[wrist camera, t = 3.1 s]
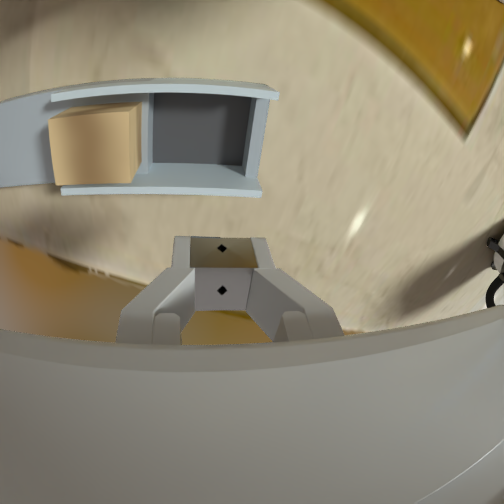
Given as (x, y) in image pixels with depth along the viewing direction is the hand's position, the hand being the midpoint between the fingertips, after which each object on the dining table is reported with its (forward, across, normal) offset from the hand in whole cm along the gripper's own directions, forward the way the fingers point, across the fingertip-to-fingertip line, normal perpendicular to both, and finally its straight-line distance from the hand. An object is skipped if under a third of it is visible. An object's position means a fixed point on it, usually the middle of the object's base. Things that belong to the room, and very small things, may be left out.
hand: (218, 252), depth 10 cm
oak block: (+14, +8, 0) cm, 17 cm away
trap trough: (+17, +8, 0) cm, 19 cm away
